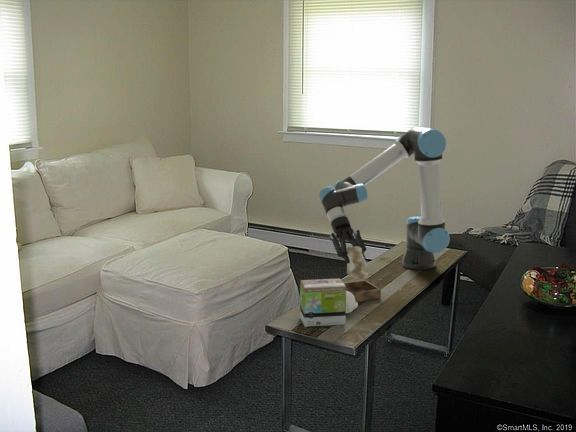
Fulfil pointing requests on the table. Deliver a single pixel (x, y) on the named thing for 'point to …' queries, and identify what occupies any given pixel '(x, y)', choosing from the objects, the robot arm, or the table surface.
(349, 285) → the open brown box
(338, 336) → the table surface
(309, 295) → the tea box
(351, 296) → the rabbit
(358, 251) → the beige block
